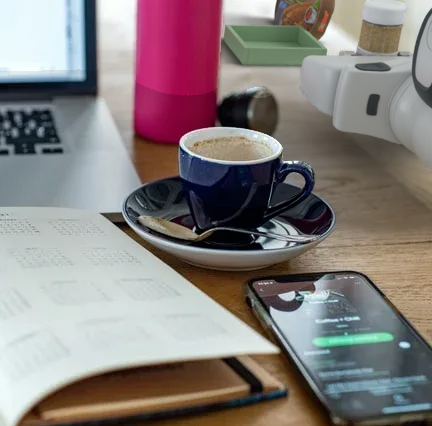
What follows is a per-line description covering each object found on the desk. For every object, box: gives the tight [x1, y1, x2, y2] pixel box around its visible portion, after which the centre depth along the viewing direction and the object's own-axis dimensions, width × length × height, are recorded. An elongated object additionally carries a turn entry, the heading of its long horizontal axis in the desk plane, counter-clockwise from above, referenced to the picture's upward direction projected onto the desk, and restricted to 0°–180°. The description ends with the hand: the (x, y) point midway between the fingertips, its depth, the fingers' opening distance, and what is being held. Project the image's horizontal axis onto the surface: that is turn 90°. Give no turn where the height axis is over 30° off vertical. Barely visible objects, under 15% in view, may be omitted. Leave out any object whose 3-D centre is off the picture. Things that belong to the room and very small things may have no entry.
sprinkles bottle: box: [355, 0, 408, 56], centre depth 98 cm, size 5×5×14 cm
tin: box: [273, 0, 336, 41], centre depth 129 cm, size 15×3×8 cm, turn 10°
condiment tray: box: [223, 24, 328, 66], centre depth 121 cm, size 11×11×3 cm
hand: (372, 57), depth 98 cm, fingers open, 5 cm apart
